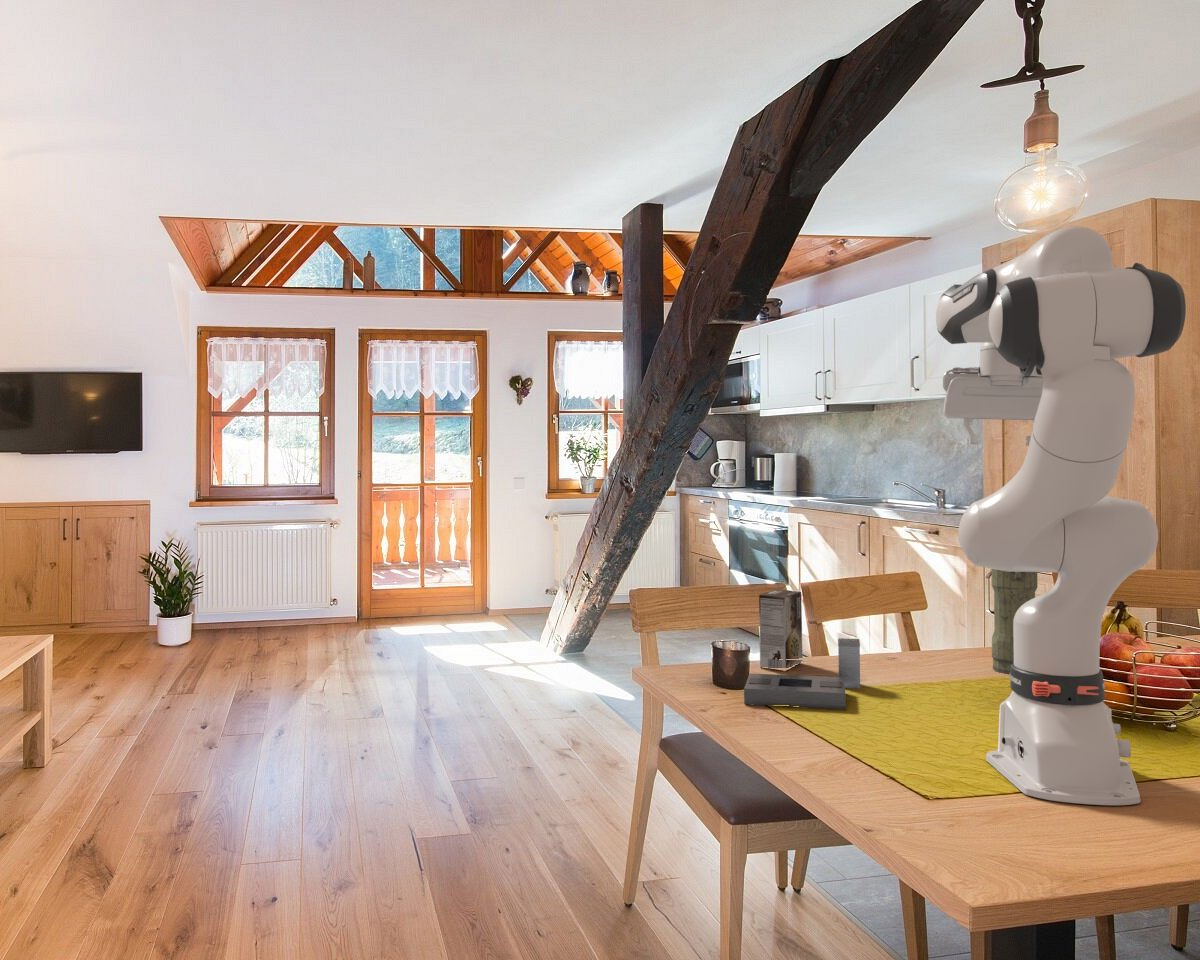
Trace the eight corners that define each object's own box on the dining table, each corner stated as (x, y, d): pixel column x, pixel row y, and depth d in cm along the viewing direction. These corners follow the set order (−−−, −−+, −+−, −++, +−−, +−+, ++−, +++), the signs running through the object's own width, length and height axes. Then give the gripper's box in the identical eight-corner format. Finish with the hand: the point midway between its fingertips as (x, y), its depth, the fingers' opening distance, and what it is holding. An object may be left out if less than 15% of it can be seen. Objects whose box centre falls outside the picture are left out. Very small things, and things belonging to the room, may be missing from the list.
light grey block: (860, 688, 174) (859, 643, 173) (838, 687, 175) (838, 642, 174) (859, 683, 177) (859, 638, 177) (838, 682, 179) (838, 638, 178)
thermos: (1027, 664, 192) (1026, 502, 191) (1047, 677, 180) (1045, 505, 180) (984, 663, 193) (983, 502, 193) (1001, 676, 182) (999, 505, 181)
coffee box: (776, 660, 200) (775, 588, 199) (803, 663, 196) (802, 590, 196) (758, 668, 192) (757, 594, 192) (786, 672, 188) (785, 596, 188)
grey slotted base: (845, 709, 159) (845, 692, 159) (744, 704, 163) (743, 687, 163) (844, 693, 170) (844, 676, 170) (749, 688, 175) (749, 672, 175)
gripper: (945, 365, 158) (941, 442, 159) (1072, 366, 152) (1068, 446, 153) (942, 369, 164) (938, 443, 165) (1064, 370, 158) (1060, 447, 159)
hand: (1002, 445), depth 159 cm, fingers open, 8 cm apart
